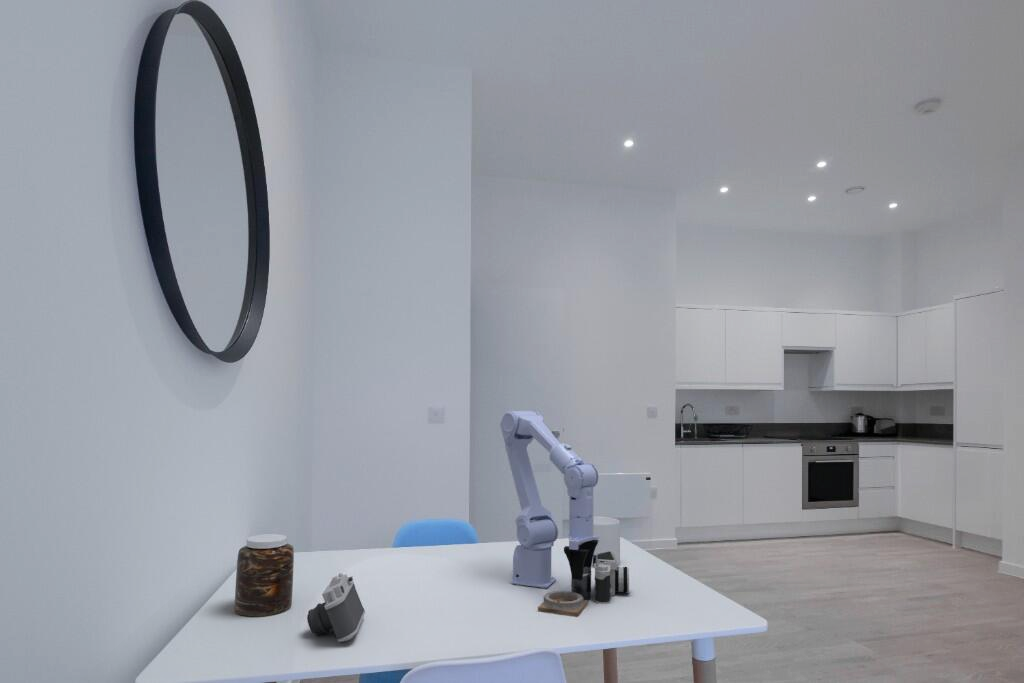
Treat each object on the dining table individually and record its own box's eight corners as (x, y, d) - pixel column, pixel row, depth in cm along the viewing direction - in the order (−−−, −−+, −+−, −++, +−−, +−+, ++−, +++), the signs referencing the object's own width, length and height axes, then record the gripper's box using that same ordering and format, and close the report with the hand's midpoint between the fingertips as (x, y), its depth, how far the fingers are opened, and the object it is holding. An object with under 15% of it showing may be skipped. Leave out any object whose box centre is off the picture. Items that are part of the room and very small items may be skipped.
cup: (579, 556, 182) (579, 515, 183) (619, 558, 180) (619, 517, 181) (578, 567, 170) (578, 523, 171) (620, 569, 169) (620, 524, 170)
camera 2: (629, 607, 138) (629, 561, 139) (591, 604, 139) (591, 559, 140) (628, 586, 154) (628, 545, 155) (593, 584, 155) (594, 543, 156)
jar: (296, 598, 140) (299, 531, 142) (286, 616, 129) (289, 543, 130) (241, 600, 138) (245, 532, 140) (227, 618, 127) (231, 544, 128)
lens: (568, 599, 142) (568, 568, 142) (574, 594, 146) (574, 563, 147) (588, 602, 140) (588, 570, 141) (593, 596, 144) (593, 565, 145)
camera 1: (370, 610, 129) (351, 564, 130) (360, 635, 113) (339, 583, 114) (328, 630, 128) (309, 584, 128) (312, 659, 112) (291, 605, 113)
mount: (537, 611, 134) (537, 599, 134) (550, 599, 142) (550, 587, 142) (577, 616, 131) (577, 604, 131) (587, 604, 139) (587, 592, 139)
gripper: (590, 522, 137) (590, 585, 135) (604, 512, 150) (605, 569, 149) (560, 520, 139) (560, 581, 138) (576, 510, 153) (576, 566, 151)
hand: (581, 574), depth 143 cm, fingers open, 7 cm apart
